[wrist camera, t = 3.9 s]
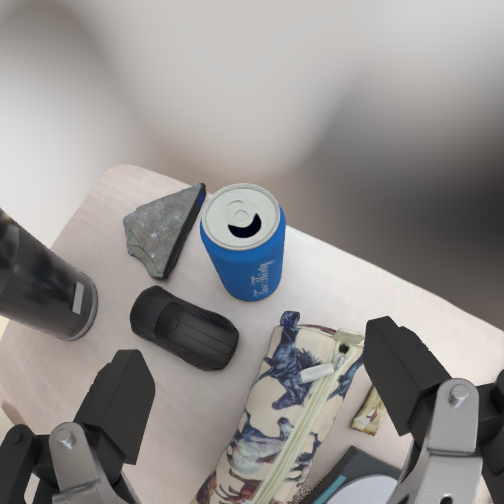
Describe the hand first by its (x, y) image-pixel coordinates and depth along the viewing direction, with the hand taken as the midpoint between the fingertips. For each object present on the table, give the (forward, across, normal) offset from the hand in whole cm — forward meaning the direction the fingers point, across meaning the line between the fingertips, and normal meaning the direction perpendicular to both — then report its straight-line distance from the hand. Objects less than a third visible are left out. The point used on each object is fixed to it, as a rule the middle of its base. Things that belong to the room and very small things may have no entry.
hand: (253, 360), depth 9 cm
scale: (0, -8, +26) cm, 27 cm away
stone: (+28, +10, +1) cm, 30 cm away
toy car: (+17, +8, +10) cm, 21 cm away
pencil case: (+9, 0, +18) cm, 20 cm away
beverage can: (+21, 0, +6) cm, 22 cm away
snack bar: (+10, -12, +17) cm, 23 cm away
